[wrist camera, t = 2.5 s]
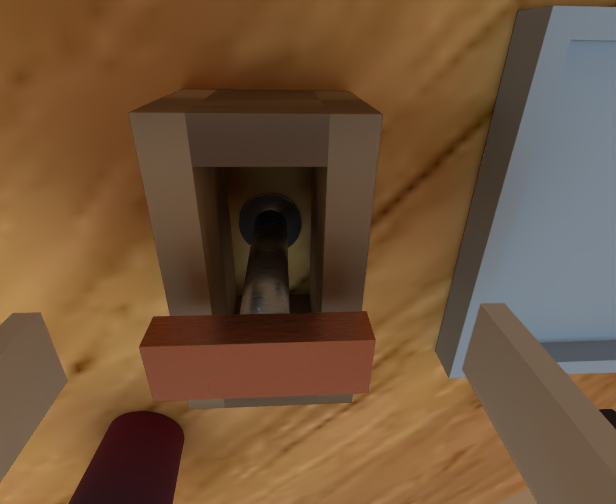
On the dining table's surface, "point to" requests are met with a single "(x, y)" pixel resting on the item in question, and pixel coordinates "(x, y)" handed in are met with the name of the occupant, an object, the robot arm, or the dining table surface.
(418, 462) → the dining table surface
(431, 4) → the dining table surface
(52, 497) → the dining table surface
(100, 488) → the cup
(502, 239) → the tray
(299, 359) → the mallet
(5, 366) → the robot arm
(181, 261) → the brown hollow block
